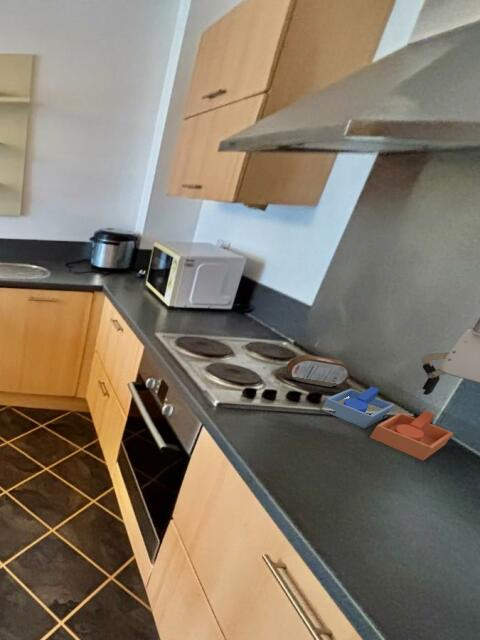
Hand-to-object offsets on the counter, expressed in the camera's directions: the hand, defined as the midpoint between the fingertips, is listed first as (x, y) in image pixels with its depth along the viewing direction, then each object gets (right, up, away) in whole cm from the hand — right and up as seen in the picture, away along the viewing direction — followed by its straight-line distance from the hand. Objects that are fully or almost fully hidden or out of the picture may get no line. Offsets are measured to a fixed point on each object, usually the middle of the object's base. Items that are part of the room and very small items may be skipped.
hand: (456, 402), depth 93 cm
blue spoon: (-6, -1, +16) cm, 17 cm away
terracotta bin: (-5, -9, +5) cm, 12 cm away
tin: (-7, +4, +31) cm, 32 cm away
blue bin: (-8, -4, +16) cm, 18 cm away
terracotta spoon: (-4, -7, +5) cm, 10 cm away
